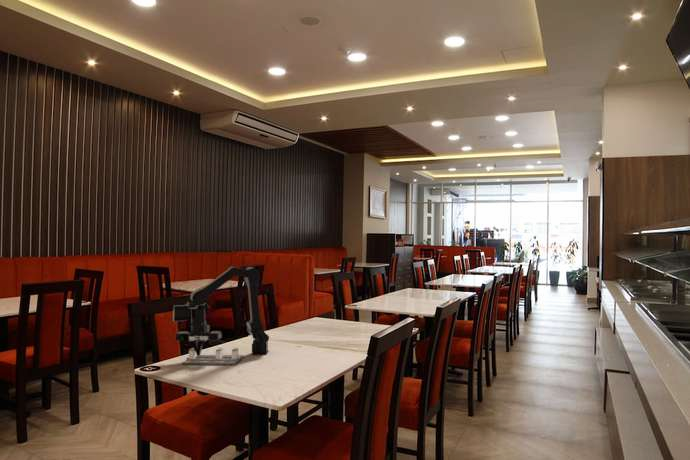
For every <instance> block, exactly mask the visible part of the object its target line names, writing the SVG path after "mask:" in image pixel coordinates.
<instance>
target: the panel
mask: <svg viewBox="0 0 690 460" xmlns="http://www.w3.org/2000/svg"><path fill="white" fill-rule="evenodd" d="M244 356H245V355H242V354H238V358H237V359H232V354H223V358H221V359H216V354H200V356H197V354H196V358H195V359H189V356H187V357H186V359H185V361H183V362H182V365H183V366H236V365H237V364H239V362H240V361H241V360H242V359H244Z"/></svg>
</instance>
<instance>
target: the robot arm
mask: <svg viewBox="0 0 690 460" xmlns="http://www.w3.org/2000/svg"><path fill="white" fill-rule="evenodd" d="M234 277H243V279H244V281H245V284H246V286H247V294H248V295H247V296H248V304H249V305H248V306H249V307H248V308H249V315H250V318H249V321H246V328H247V329H246V331H247V332H248V334H249V335H250V336H251V337H252V339H253V340H252V343H251V355H252V356H266V355H267V354H268V353H269V352H270V351H269V339H270V336H269V335H268V334H267V333H266V332H265V328H264V324H263V322H262V318H261V314H260V303H259V291H258V289H259V288H258V287H259V283H260V270H259V269H257V268H255V267H252V266H250V267H249V266H248V267H246V268H243V267H235V266H230V267H228V268H227V269H226V270H225V271H224V272H223V273H221V274H219V275H218V276H217V277H216V278H214V279H212V280H211V281H210V282H209V283H208V284H205V285H202V286H200V287H198V288H196V289H195V290H193V291H192V292H191V293H190V298H189V299H188V301H187V302H186V303H185V304H183V305H182V304H181V305H178V304H176V305H175V304H174V305H173V308H172V309H173V310H172V321H173V323H174V322H177V323H178V322H184V321H185V322H186V321H188V320H189V319H190V318H191V322H190V326H191V332H189V331H186V330H185V331H184V330H183V331H178V332H177V333H175V335H174V341H183V340H184V339H188V343H190V344H191V346H192V348H194V349H195V351H196V355H197V356H200V355H201V353H202V350H203V347H204V345H205V342H207V341H209V340H210V341H218V340H220V339H221V338H222V336H223V335H222V332H221V331H220V330H218V331H217V330H213V331H211V332H210V327H211V326H210V325H209V324H207V320H206V310H208V309H210V308H211V307H210V306H209V305H208V304H207V303H206V301H207V300H209V298H210V297H211V295H212V294H213V293H214V292H216V290H218V289H220V288H221V287H222V286H224V284H226V283H227V282H228V281H230V280H231V279H233V278H234Z"/></svg>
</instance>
